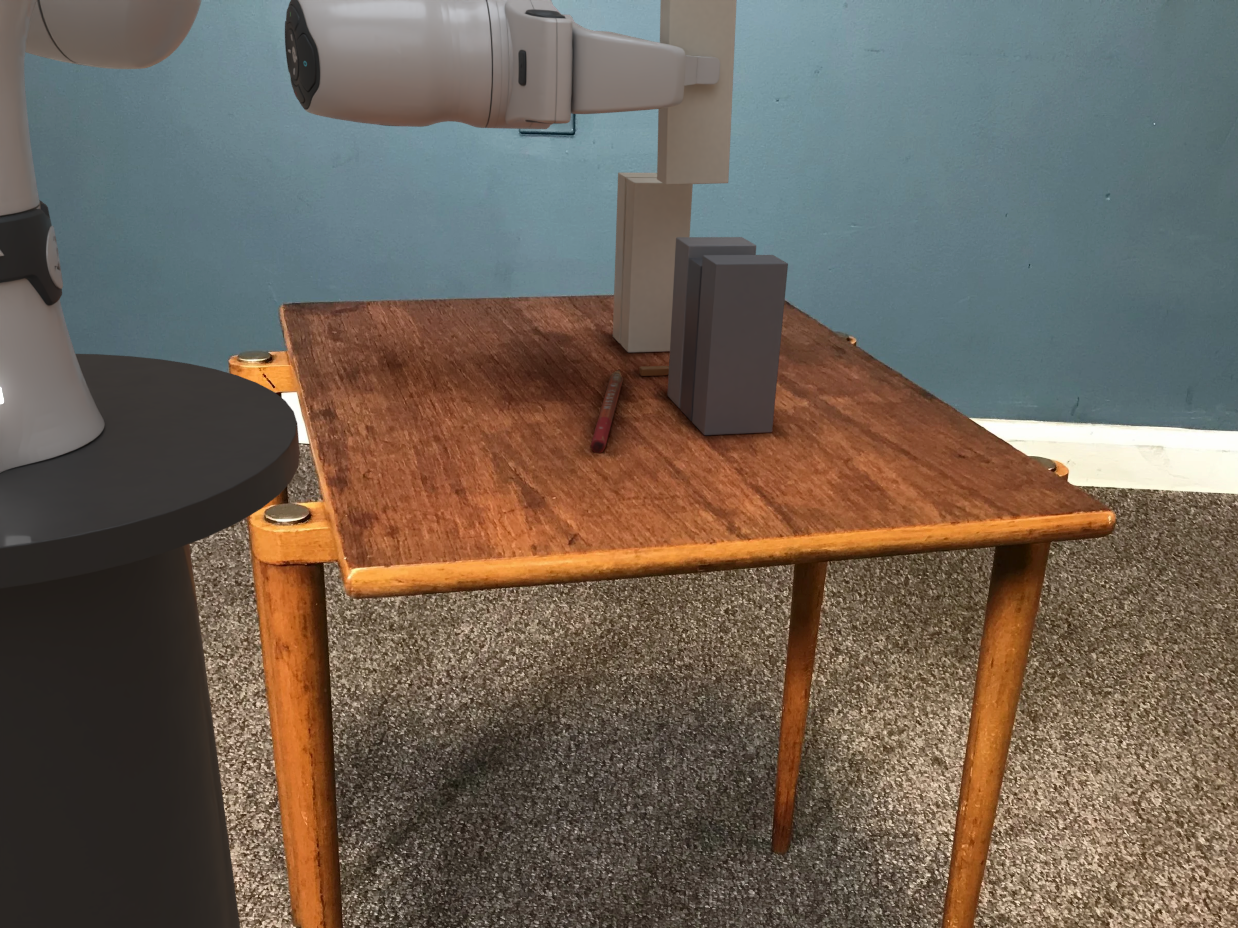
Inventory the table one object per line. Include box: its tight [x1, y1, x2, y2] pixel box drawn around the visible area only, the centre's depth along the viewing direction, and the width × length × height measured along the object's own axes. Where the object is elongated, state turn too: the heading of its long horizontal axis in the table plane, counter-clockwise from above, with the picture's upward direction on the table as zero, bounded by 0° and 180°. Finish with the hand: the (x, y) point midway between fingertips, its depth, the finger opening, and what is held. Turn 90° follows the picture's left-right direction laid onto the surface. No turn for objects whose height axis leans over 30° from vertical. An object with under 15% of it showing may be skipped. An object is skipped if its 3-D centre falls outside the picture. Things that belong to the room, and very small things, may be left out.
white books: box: [612, 171, 694, 377], centre depth 106 cm, size 6×13×14 cm, turn 15°
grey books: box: [667, 236, 789, 436], centre depth 93 cm, size 5×10×12 cm, turn 15°
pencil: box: [590, 369, 624, 454], centre depth 95 cm, size 19×1×1 cm, turn 177°
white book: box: [656, 0, 738, 185], centre depth 94 cm, size 5×2×14 cm, turn 105°
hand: (708, 68), depth 94 cm, fingers closed on white book, 2 cm apart
